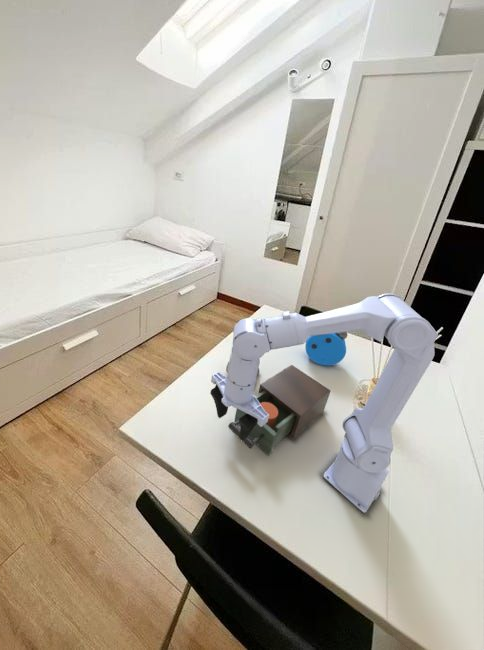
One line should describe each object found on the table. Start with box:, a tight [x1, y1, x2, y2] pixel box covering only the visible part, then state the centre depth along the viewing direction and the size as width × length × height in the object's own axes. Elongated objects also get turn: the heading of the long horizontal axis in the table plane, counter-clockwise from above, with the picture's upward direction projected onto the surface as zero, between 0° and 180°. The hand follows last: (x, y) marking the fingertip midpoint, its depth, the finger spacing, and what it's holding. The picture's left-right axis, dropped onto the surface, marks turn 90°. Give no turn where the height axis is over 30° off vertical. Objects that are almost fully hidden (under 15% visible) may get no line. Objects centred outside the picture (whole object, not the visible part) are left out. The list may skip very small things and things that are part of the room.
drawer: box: [228, 391, 296, 456], centre depth 73 cm, size 19×12×6 cm, turn 131°
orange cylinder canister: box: [260, 402, 278, 430], centre depth 73 cm, size 5×5×5 cm
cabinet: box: [257, 364, 332, 440], centre depth 81 cm, size 15×13×8 cm
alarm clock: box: [305, 332, 348, 366], centre depth 102 cm, size 13×6×15 cm, turn 71°
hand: (232, 426), depth 63 cm, fingers open, 6 cm apart
